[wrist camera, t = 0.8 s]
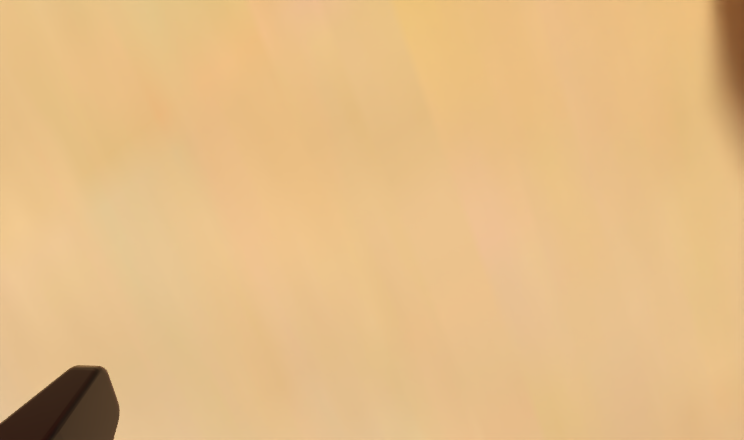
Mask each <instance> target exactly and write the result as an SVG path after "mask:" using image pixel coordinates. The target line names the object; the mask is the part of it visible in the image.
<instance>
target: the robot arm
mask: <svg viewBox="0 0 744 440" xmlns="http://www.w3.org/2000/svg"><path fill="white" fill-rule="evenodd" d="M118 420H119V404H118V401H117V398H116V395H115V392H114V389H113V386H112V383H111V380H110V378H109V375H108V372H107V370H106V369H105V368H103V367H101V366H84V365H78V366H74V367H72V368H70V369H69V370H67V371H66V372H65V373H63V374H62V375H61V376H60V377H58V378H57V379H56V380H54V381H53V382H52V383H51V384H49V385H48V386H47V387H46V388H44V389H43V390H42V391H41V392H39V393H38V394H37V395H36V396H34V397H33V398H32V399H30V400H29V401H28V402H27V403H25V404H24V405H23V406H22V407H20V408H19V409H18V410H17V411H15V412H14V413H13V414H12V415H10V416H9V417H8V418H6V419H5V420H4V421H3V422H1V423H0V440H113V439H114V435H115V432H116V428H117V425H118Z"/></svg>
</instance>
